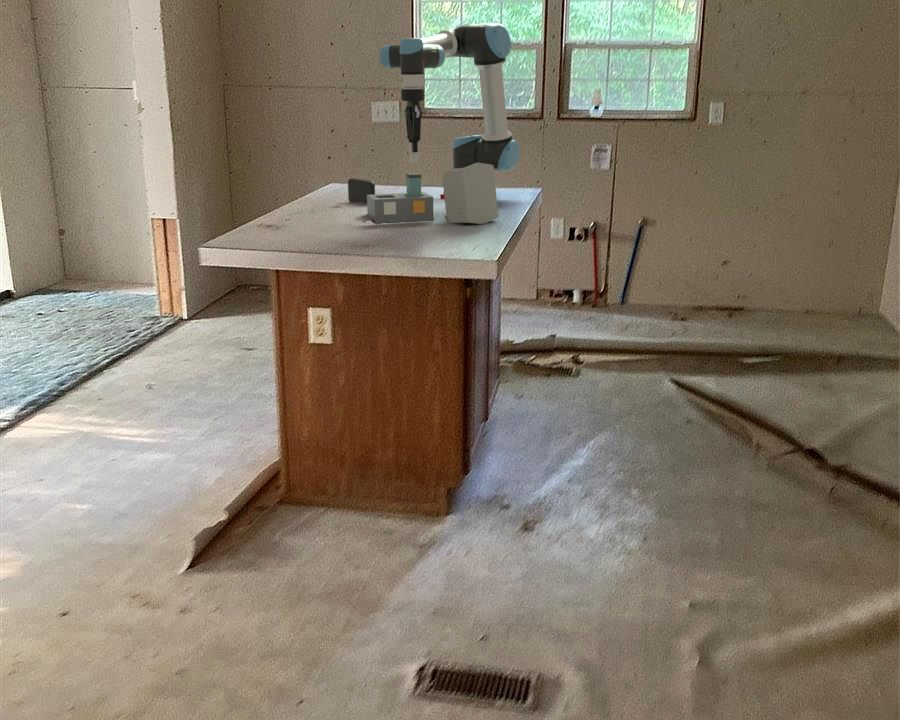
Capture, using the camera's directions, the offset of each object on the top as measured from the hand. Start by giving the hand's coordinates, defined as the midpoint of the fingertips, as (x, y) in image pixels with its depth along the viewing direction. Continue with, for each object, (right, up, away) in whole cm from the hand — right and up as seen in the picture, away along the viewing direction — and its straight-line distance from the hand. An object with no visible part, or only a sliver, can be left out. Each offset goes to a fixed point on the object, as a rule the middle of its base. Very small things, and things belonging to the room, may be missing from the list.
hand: (414, 161), depth 298 cm
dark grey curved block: (-21, -9, +34) cm, 41 cm away
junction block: (-5, -19, +4) cm, 20 cm away
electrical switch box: (+17, -20, +2) cm, 26 cm away
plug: (0, -17, +5) cm, 18 cm away
